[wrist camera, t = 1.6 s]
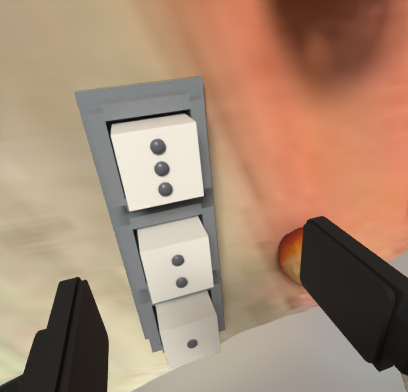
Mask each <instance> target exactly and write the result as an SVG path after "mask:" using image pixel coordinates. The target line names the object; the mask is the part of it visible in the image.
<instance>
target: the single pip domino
mask: <svg viewBox="0 0 408 392" xmlns="http://www.w3.org/2000/svg"><path fill="white" fill-rule="evenodd" d="M156 311H157V317H158V324H159V331H160V335H161V339H162V343H163V347H164V351H165V356H166V360H167V364H168V368H169V369H171V368H174V367H177V366H180V365H183V364H186V363H190V362H192V361H196V360H199V359H202V358H205V357H208V356H210V355H213V354H217V353H220V352H221V349H220V340H219V331H218V321H217V314H216V312H215V309H214V307H213V304H212V302H211V299H210V297H209V294H208V291H203V292H200V293H196V294H193V295H189V296H185V297H182V298H178V299H175V300H171V301H168V302H164V303H161V304H157V305H156Z"/></svg>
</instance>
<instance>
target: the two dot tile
mask: <svg viewBox="0 0 408 392" xmlns="http://www.w3.org/2000/svg"><path fill="white" fill-rule="evenodd" d="M137 231H138V240H139V249H140V255H141V259H142V263H143V267H144V271H145V275H146V279H147V283H148V287H149V291H150V295H151V299H152V303H153V304H154V303H158V302H162V301H165V300H169V299H172V298H176V297H179V296H183V295H187V294H190V293H194V292H197V291H201V290H204V289H208V288H212V287H214V284H213V275H212V266H211V256H210V247H209V238H208V235H207V233H206V231H205V229H204V227H203V225H202V223H201V221H200V219H199V217H198V215H195V216H191V217H186V218H182V219H177V220H173V221H169V222H164V223H160V224H155V225H151V226H146V227H142V228H137Z"/></svg>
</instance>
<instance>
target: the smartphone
mask: <svg viewBox="0 0 408 392" xmlns="http://www.w3.org/2000/svg"><path fill="white" fill-rule="evenodd" d="M22 376H23V374H22V375H21V376H19V377H17V378H15V379H13V380H11V381H9V382H7V383H5V384H3V385H1V386H0V392H18V389H19V386H20V383H21V379H22Z"/></svg>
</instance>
